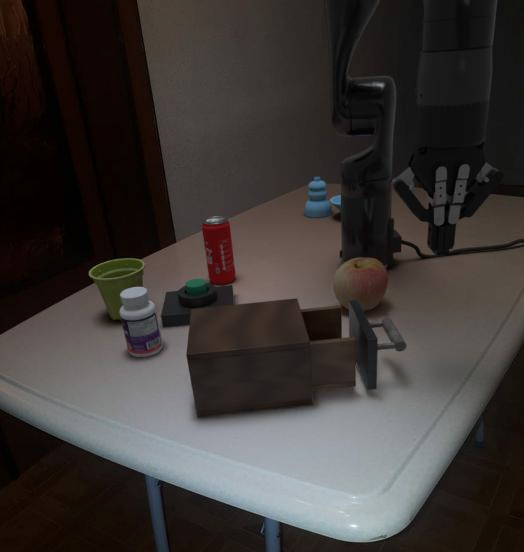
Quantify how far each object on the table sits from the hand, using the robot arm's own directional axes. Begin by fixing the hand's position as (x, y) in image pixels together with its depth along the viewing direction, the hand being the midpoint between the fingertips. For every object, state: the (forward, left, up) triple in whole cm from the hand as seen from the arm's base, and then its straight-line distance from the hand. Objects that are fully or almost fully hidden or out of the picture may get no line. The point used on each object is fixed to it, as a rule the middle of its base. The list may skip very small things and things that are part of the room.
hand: (440, 252), depth 68 cm
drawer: (+14, 0, -15) cm, 20 cm away
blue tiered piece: (-1, -73, -16) cm, 75 cm away
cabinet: (+24, 0, -16) cm, 29 cm away
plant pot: (+45, -27, -16) cm, 55 cm away
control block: (+32, -25, -16) cm, 44 cm away
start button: (+32, -25, -12) cm, 43 cm away
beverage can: (+28, -38, -16) cm, 50 cm away
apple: (+5, -20, -16) cm, 26 cm away
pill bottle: (+40, -13, -16) cm, 45 cm away
